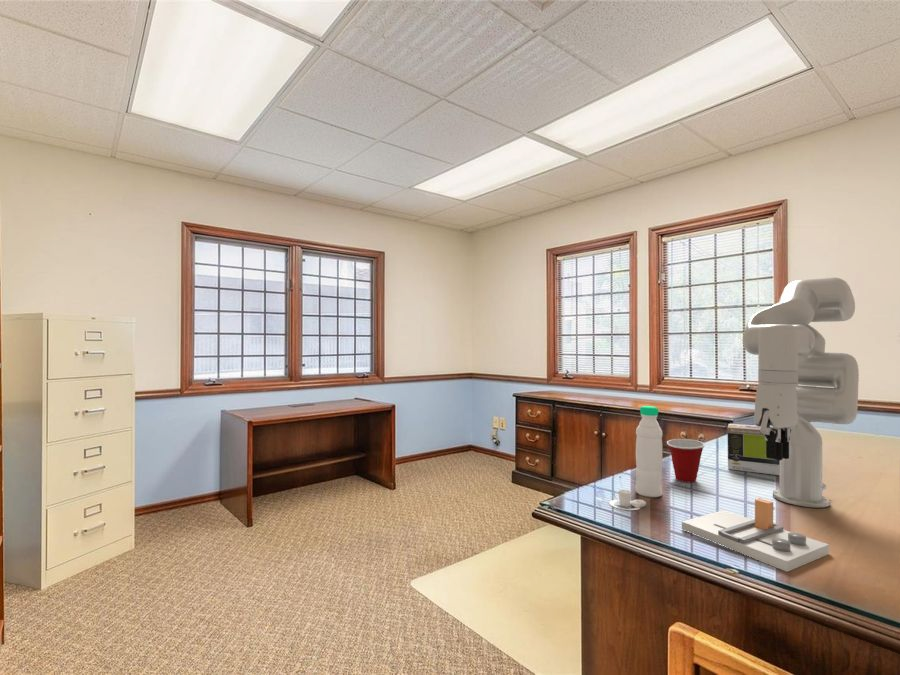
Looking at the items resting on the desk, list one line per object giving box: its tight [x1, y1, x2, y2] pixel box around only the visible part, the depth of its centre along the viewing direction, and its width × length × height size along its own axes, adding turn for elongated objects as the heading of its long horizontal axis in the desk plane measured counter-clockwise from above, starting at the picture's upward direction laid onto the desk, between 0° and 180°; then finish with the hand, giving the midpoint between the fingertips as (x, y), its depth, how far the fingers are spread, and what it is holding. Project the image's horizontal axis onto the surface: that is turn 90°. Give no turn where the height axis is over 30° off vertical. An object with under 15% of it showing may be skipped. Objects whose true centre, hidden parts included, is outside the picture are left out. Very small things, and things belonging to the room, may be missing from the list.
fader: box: [754, 497, 774, 530], centre depth 105 cm, size 2×3×6 cm
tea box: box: [726, 423, 779, 476], centre depth 161 cm, size 15×10×15 cm
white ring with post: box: [609, 489, 647, 511], centre depth 125 cm, size 9×8×4 cm
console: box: [681, 509, 830, 573], centre depth 103 cm, size 16×22×4 cm
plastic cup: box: [666, 438, 705, 483], centre depth 148 cm, size 11×11×12 cm
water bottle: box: [635, 405, 663, 498], centre depth 134 cm, size 7×7×25 cm
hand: (777, 457), depth 108 cm, fingers closed
